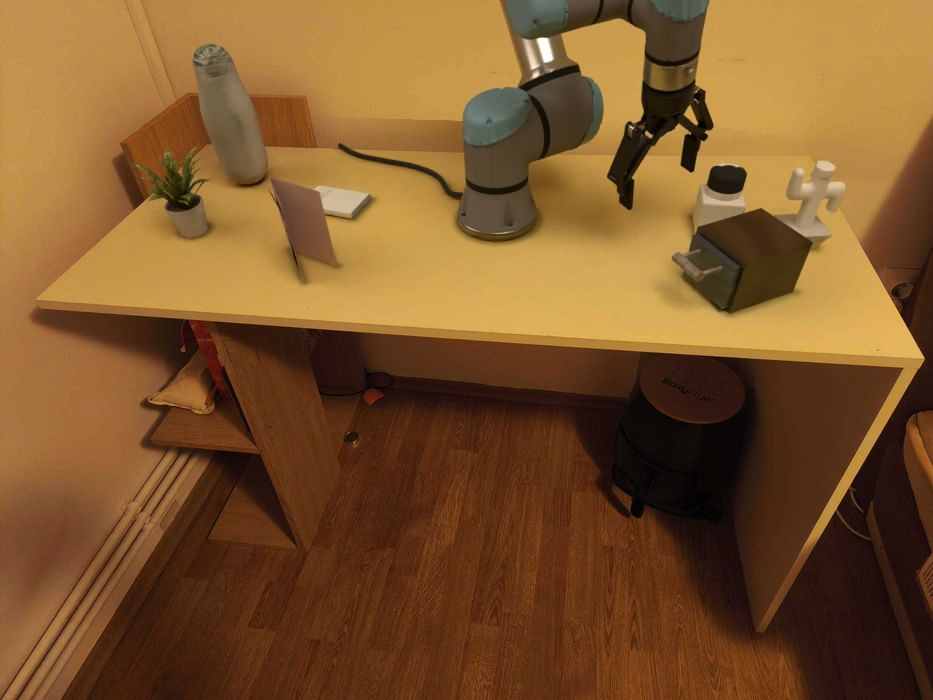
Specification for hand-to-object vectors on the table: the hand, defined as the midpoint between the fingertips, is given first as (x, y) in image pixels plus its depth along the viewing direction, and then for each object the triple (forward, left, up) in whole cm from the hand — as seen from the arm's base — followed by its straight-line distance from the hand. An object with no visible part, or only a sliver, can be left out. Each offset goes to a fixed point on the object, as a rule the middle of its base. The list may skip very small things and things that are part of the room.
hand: (656, 186), depth 107 cm
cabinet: (+17, -9, -9) cm, 22 cm away
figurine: (+24, +7, -9) cm, 27 cm away
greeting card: (-53, -33, -9) cm, 63 cm away
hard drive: (-61, -15, -9) cm, 63 cm away
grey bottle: (-85, -14, -9) cm, 86 cm away
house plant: (-80, -34, -9) cm, 87 cm away
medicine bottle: (+10, +6, -9) cm, 15 cm away
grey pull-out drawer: (+15, -12, -8) cm, 21 cm away
